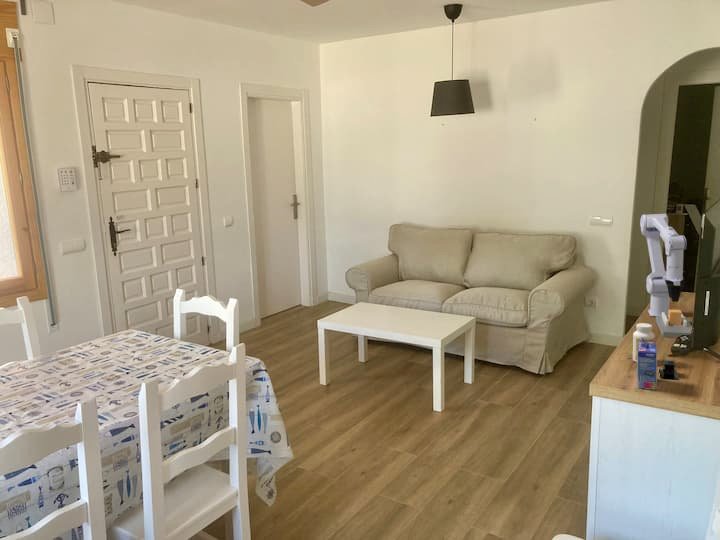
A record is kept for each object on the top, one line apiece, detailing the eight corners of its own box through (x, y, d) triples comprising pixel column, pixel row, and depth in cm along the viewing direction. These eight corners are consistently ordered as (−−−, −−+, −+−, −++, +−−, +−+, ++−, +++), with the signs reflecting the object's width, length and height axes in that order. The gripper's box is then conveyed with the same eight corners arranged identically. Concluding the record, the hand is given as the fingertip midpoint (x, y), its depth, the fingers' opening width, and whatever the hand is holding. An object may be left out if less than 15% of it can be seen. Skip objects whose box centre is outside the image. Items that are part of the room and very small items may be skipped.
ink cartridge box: (636, 376, 183) (637, 333, 180) (655, 378, 180) (657, 334, 178) (636, 388, 174) (637, 343, 171) (657, 390, 172) (658, 344, 169)
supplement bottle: (657, 364, 192) (659, 327, 189) (637, 365, 192) (638, 328, 189) (648, 357, 198) (649, 321, 196) (629, 358, 198) (629, 322, 196)
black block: (683, 384, 176) (683, 370, 175) (656, 382, 179) (657, 368, 178) (678, 370, 187) (679, 356, 186) (653, 368, 190) (654, 355, 189)
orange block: (668, 321, 229) (668, 309, 228) (679, 321, 228) (679, 309, 227) (669, 324, 225) (670, 312, 224) (681, 324, 224) (681, 312, 223)
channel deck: (655, 320, 237) (656, 311, 237) (685, 321, 234) (686, 312, 233) (663, 337, 217) (663, 327, 217) (696, 338, 213) (696, 328, 213)
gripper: (661, 263, 235) (660, 295, 237) (666, 269, 222) (665, 303, 224) (680, 263, 233) (679, 295, 235) (686, 269, 219) (685, 303, 222)
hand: (673, 299), depth 229 cm, fingers open, 6 cm apart
